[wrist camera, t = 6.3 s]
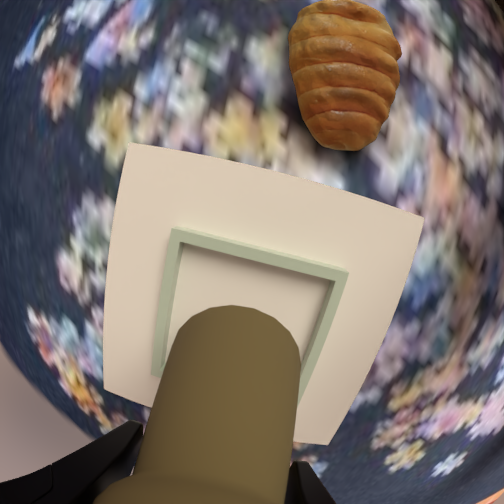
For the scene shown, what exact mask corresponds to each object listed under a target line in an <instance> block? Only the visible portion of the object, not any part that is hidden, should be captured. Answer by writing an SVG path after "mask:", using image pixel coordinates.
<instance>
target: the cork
mask: <svg viewBox="0 0 504 504" xmlns="http://www.w3.org/2000/svg"><path fill="white" fill-rule="evenodd" d="M300 372H301V360H300V353H299V347H298V345H297V344H296V342H295V340H294V338H293V336H292V335H291V333H290V331H289V330H288V329H286V328H285V327H284V326H283V325H282V324H281V323H280V322H279V321H278V320H276V319H275V318H274V317H272V316H270V315H268V314H265V313H263V312H261V311H259V310H257V309H255V308H249V307H243V306H236V305H226V306H219V307H211V308H208V309H206V310H204V311H202V312H200V313H198V314H195V315H193V316H191V317H190V318H189V319H188V320H187V321H186V322H185V324H184V325H183V326H182V327H181V328H180V329H179V330H178V332H177V335H176V337H175V339H174V342H173V344H172V347H171V350H170V353H169V356H168V359H167V362H166V365H165V368H164V371H163V374H162V377H161V380H160V383H159V386H158V390H157V393H156V396H155V399H154V402H153V406H152V409H151V412H150V415H149V419H148V422H147V425H146V429H145V432H144V435H143V439H142V442H141V446H140V449H139V453H138V456H137V460H136V463H135V467H134V471H133V475H131V476H129V477H126V478H123V479H121V480H119V481H116V482H114V483H112V484H110V485H109V486H108V487H107V488H106V489H105V490H104V491H103V492H102V493H100V494H99V495H98V496H97V497H96V498H95V500H94V502H93V504H284V500H285V494H286V488H287V481H288V475H289V468H290V461H291V454H292V446H293V438H294V430H295V421H296V413H297V403H298V393H299V383H300Z"/></svg>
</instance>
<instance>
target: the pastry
mask: <svg viewBox="0 0 504 504" xmlns="http://www.w3.org/2000/svg"><path fill="white" fill-rule="evenodd" d="M288 41H289V55H290V56H289V67H290V71H291V74H292V78H293V82H294V85H295V89H296V95H297V98H298V104H299V108H300V111H301V115H302V118H303V120H304V122H305V124H306V126H307V127H308V129H309V131H310V133H311V134H312V136H313V137H314V138H315V140H316V141H317V142H318V143H319V144H321V145H322V146H323V147H326V148H330V149H334V150H350V151H357V150H360V149H362V148H363V147H365V146H367V145H368V144H369V143H371V142H373V141H375V140H376V138H377V135H378V133H379V131H380V129H381V126H382V124H383V123H384V122H385V121H386V119H387V118H388V117H389V115H388V114H389V112H390V106H391V104H392V103H393V100H394V98H395V94H396V93H395V91H396V90H397V88H398V86H399V82H400V76H399V67H398V63H397V60H398V59H399V58H400V57H401V55H402V52H401V47H400V45H399V43H398V41H397V40H396V38H395V37H394V35H393V32H392V30H391V28H390V26H389V24H388V23H387V21H386V19H385V16H384V15H383V14H381V13H380V12H379V11H378V10H376V9H374V8H372V7H369V6H367V5H364V4H361V3H358V2H354V1H351V0H336V1H333V0H323V1H319V2H316V3H313V4H311V5H310V6H307V7H305V8H303V9H302V10H301V11H300V12H299V13H298V17H297V21H296V23H295V24H294V25H293V27H292V28H291V31H290V33H289V36H288Z"/></svg>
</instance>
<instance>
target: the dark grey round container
mask: <svg viewBox="0 0 504 504" xmlns="http://www.w3.org/2000/svg"><path fill="white" fill-rule="evenodd" d="M495 1H496V2H497V4H498V5H499V6H500V8H501V9H502V11H503V12H504V0H495Z"/></svg>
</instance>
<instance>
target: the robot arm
mask: <svg viewBox="0 0 504 504" xmlns="http://www.w3.org/2000/svg"><path fill="white" fill-rule="evenodd" d="M142 439H143V424H142V423H140V422H137V421H134V420H129V421H127V422H126V423H124V424H122V425H121V426H119V427H117V428H116V429H114V430H112V431H110V432H109V433H107V434H105V435H104V436H102V437H100V438H98V439H97V440H95V441H93V442H91V443H89V444H88V445H86V446H84V447H82V448H80V449H79V450H77V451H75V452H73V453H71V454H69V455H67V456H66V457H64V458H62V459H60V460H58V461H56V462H54V463H52V465H48V466H46V467H44V468H42V469H40V470H37V471H35V472H33V473H31V474H28V475H25V476H22V477H19V478H15V479H12V480H8V481H5V482H1V483H0V504H93V502H94V500H95V498H96V497H97V496H98V495H99V494H100V493H102V492H103V491H104V490H105V489H106V488H107V487H108V486H109V485H110V484H112V483H114V482H116V481H119V480H121V479H123V478H126V477H129V476H130V474H131V471H132V469H133V466H134V463H135V461H136V458H137V455H138V453H139V449H140V446H141V442H142ZM284 504H336V503H335V501H334V500H333V498H332V497H331V495H330V494H329V493H328V491H327V490H326V488H325V487H324V485H323V484H322V482H321V481H320V479H319V478H318V477H317V475H316V474H315V472H314V471H313V469H312V468H311V466H310V465H309V463H308V462H306V461H299V460H295V461H294V462H293V463H292V465H291V467H290V468H289V475H288V481H287V488H286V494H285V500H284Z"/></svg>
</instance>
